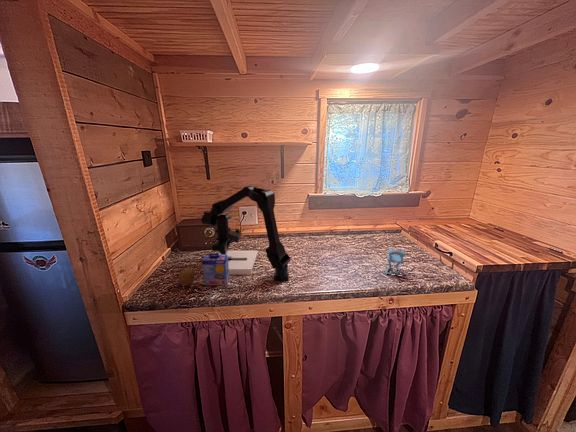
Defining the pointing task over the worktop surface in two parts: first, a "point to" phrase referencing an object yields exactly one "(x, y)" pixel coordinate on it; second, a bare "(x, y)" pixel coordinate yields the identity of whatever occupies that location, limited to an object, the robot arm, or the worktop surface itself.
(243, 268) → the keyhole board
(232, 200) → the robot arm
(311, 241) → the worktop surface
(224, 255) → the ink cartridge box
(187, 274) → the fruit
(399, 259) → the chair
